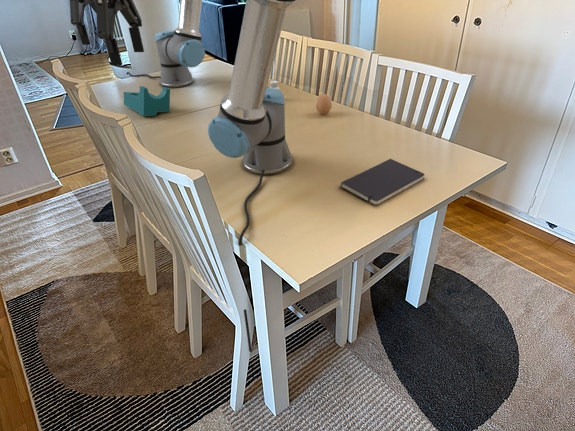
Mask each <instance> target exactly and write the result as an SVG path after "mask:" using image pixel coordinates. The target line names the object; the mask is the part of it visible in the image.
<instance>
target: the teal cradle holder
mask: <svg viewBox="0 0 575 431" xmlns="http://www.w3.org/2000/svg"><path fill="white" fill-rule="evenodd" d="M123 105H124V106H126V107H128V109H131V110H133V111H134V112H136V113H138V114H139V115H141V116H143V117H156V116H158V113H170V109H171V108H170V105H171V88H170V87H164V86H162V87H161V91H160V93H159V94H158V95H155V94H153V93H151V92H149V89H148V88H147V87H145V86H141V85H140V86H139V91H123Z"/></svg>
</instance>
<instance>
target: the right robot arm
mask: <svg viewBox="0 0 575 431" xmlns="http://www.w3.org/2000/svg"><path fill="white" fill-rule="evenodd" d="M95 2H96V13H95V14H96V35H97V38H98V39H99V40H103V41H104V43H105V47H106V51H107V54H108V57H109V61H110V65H111V66H123V61H122V57H121V53H120V49H119V46H118V42H117V38H116V37H114V35H115V25H116V15H117V14H119V12H120V15H122V16H123V18H124V20H125V21H126V23H127V24H128V25H129V27H128V33H129V36H130V40H131V43H132V48H133V52H134V53H144V52H145V48H144V45H143V40H142V36H141V30H140V28H141V27H143V23H142V22H143V21H142V18H141V16H140V14H139V11H138V9H137V6H136V5H135V2H134V0H95ZM296 2H297V0H246V1H245V7H244V12H243V16H242V23H241V28H240V33H239V39H238V44H237V48H236V54H235V59H234V63H233V70H232V75H231V79H230V86H229V90H228V93H227V94H225V95H224V96H223V97H222V98H221V100H220V105H219V111H218V115H217V116H215V117H214V118H212V119H211V120H210V122H209V124H208V126H207V133H208V134H207V135H208V138H209V140H210V142H211V144H212V145H213V147H214V149H216V150H217V151H218V152H220V154H222V155H223V156H224V157H225V156H226V157H227V158H230V159H231V158H232V159H239V158H241V157H242V166H243V168H244V170H246V171H247V172H249V173H252V174H254V175H255V174H256V175H260V176H259V181H258V184H257V186H256V187H255V188H254V189H253V190H252V192H250V193H249V194H248V196H246V199H245V200H244V204H243V209H244V213H245V216H246V225H245V227H244V228H243V229H242V230H241V233H240V234H239V237H238V247H239V246H242V242H243V238H244V235H245V233H246V232H247V230H248V229H249V227H250V221H251V219H250V214H249V211H248V202H249V200H250V198H251V197H252V196H254V195H255V194H256V192H257V191H258V190H259V189H260V187H261V185H262V183H263V178H264V176H269V175H277V174H280V173H283V172H286V171H287V170H289V169H290V167H291V166H292V163H293V158H292V153H291V150H290V148H289V145H288V143H287V140H286V111H285V110H286V108H285V106H286V102H285V95H284V93H283V92H282V91H281V90H280V91H279V90H277V89H273V88H270V87H268V83H269V79H270V75H271V71H272V68H273V64H274V60H275V57H276V52H277V48H278V45H279V41H280V37H281V33H282V29H283V25H284V23H285V22H284V21H285V18H286V14H287V11H288V8H289V6H291V5H292V4H295V3H296ZM101 4H102V5H101ZM243 315H244V316H243V317H244V322H245V329H246V337H247V343H248V352H249V353H251V352H252V342H251V336H250V335H251V334H250V327H249V326H250V325H249V320H248V319H249V318H248V311H247V309H245V308H244V309H243Z"/></svg>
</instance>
